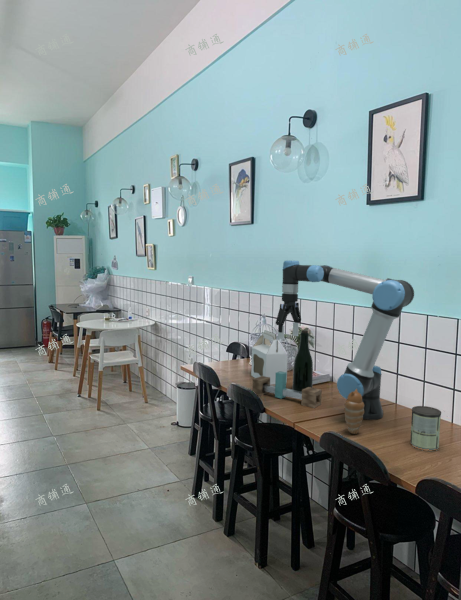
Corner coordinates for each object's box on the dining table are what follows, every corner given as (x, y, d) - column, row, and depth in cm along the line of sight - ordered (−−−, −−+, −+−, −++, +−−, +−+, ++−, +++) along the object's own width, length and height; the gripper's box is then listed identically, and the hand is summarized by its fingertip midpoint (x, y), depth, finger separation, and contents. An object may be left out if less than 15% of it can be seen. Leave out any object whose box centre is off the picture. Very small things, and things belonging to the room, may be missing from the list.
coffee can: (405, 440, 182) (407, 405, 181) (431, 440, 182) (433, 405, 181) (416, 451, 172) (419, 414, 170) (444, 451, 172) (446, 414, 171)
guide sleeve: (321, 404, 225) (321, 389, 224) (314, 408, 219) (315, 392, 219) (308, 401, 229) (308, 386, 228) (301, 405, 223) (301, 389, 223)
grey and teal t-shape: (309, 402, 227) (310, 377, 226) (305, 404, 224) (306, 378, 223) (261, 391, 244) (262, 367, 242) (257, 393, 240) (258, 369, 239)
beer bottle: (311, 389, 252) (313, 329, 249) (312, 394, 241) (315, 332, 239) (292, 388, 253) (294, 328, 250) (292, 393, 242) (295, 331, 240)
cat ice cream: (347, 428, 193) (349, 386, 192) (366, 432, 189) (368, 389, 187) (339, 434, 186) (341, 390, 185) (358, 439, 182) (360, 394, 180)
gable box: (250, 375, 279) (252, 329, 276) (271, 374, 283) (272, 329, 281) (265, 385, 258) (267, 335, 256) (286, 383, 262) (288, 334, 260)
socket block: (269, 392, 244) (270, 377, 243) (260, 396, 236) (260, 380, 236) (261, 390, 247) (262, 375, 246) (252, 394, 239) (252, 379, 239)
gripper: (295, 291, 231) (294, 333, 233) (269, 293, 211) (267, 339, 213) (309, 292, 227) (307, 335, 228) (283, 294, 207) (281, 341, 208)
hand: (288, 337), depth 221 cm, fingers open, 13 cm apart
